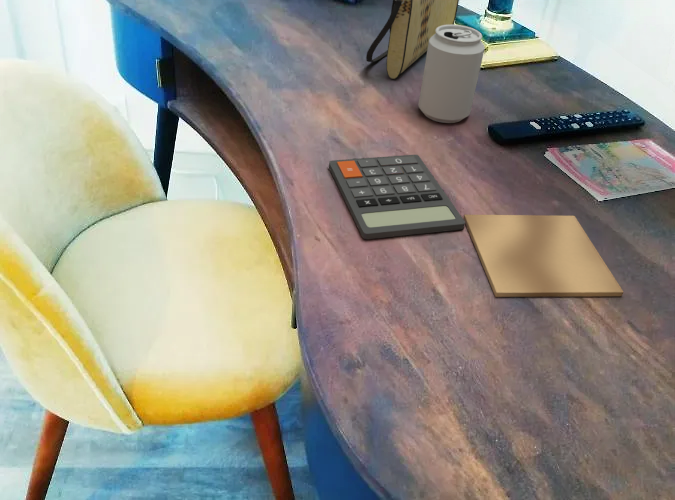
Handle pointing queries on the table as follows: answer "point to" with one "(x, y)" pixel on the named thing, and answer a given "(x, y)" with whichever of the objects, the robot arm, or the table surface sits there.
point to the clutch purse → (412, 31)
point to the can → (451, 73)
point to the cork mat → (539, 256)
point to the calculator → (394, 196)
